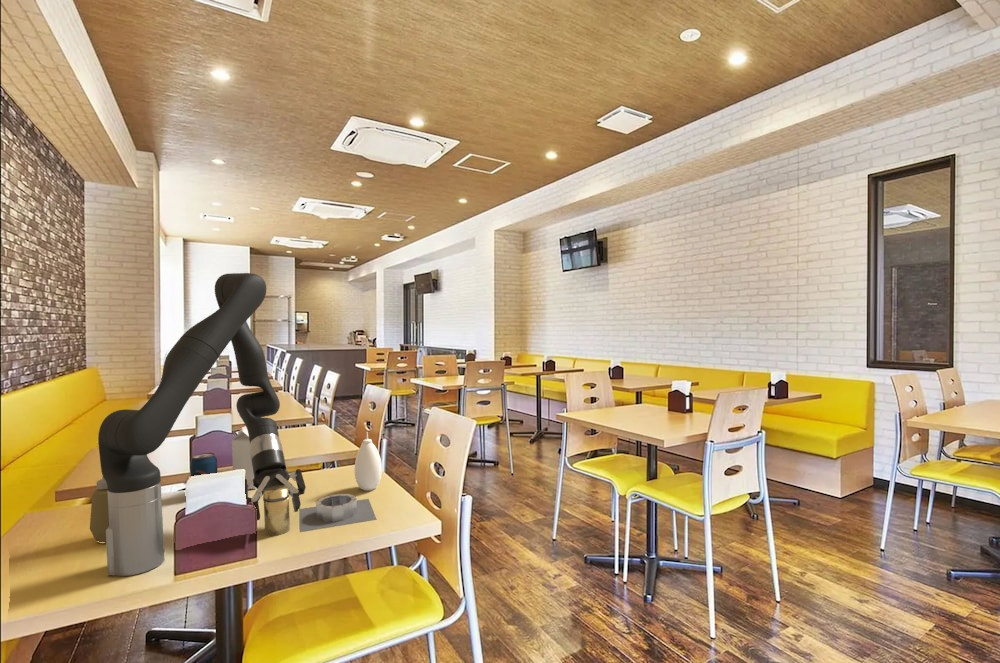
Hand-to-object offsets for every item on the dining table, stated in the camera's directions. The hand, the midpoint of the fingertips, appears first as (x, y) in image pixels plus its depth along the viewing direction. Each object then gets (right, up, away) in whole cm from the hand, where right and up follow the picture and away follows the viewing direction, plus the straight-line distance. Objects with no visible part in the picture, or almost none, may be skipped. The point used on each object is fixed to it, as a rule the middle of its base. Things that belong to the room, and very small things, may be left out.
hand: (277, 514), depth 123 cm
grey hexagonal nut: (+11, -4, +11) cm, 16 cm away
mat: (+11, -5, +11) cm, 16 cm away
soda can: (-34, -5, +30) cm, 46 cm away
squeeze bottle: (-40, -6, +1) cm, 41 cm away
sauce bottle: (+14, -4, +30) cm, 34 cm away
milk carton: (-25, -5, +38) cm, 46 cm away
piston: (-1, -5, +1) cm, 5 cm away
